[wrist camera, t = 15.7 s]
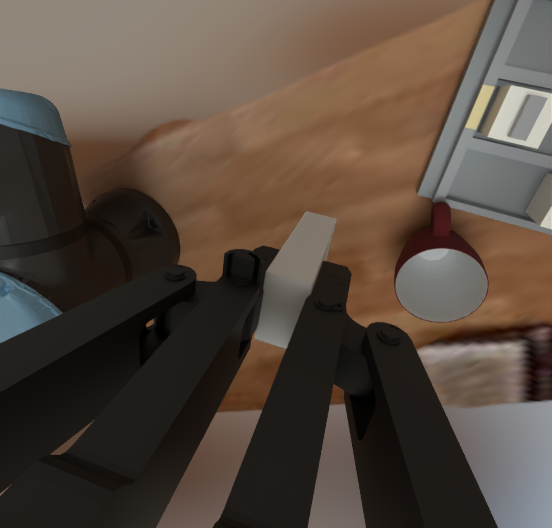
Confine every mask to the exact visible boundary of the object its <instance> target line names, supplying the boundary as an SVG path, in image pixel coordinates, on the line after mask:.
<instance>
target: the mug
mask: <svg viewBox="0 0 552 528" xmlns="http://www.w3.org/2000/svg"><path fill="white" fill-rule="evenodd" d="M450 225H451V212H450V206H449V204H448V203H446V202H437V203H435V204H433V206H432V211H431V227H428V228H425V229H423V230H421V231H419V232H417V233H415V234H414V235H413V236H412V237H411V238H410V239H409V240H408V241H407V243H406V244H405V246H404V248H403V250H402V252H401V254H400V256H399V259H398V261H397V264H396V268H395V274H394V287H395V293H396V296H397V299H398V301H399V302H400V304H401V305H402V306H403V307H404V308H405V309H406V310H407V311H408V312H409V313H411V314H412V315H414V316H415V317H418V318H420V319H422V320H426V321H430V322H439V323H442V322H452V321H456V320H459V319H462V318H464V317H466V316H468V315H470V314H472V313H473V312H474V311H475V310H477V309H478V308H479V307H480V305H481V304H482V303H483V301H484V300H485V298H486V295H487V292H488V277H487V273H486V270H485V268H484V265H483V263H482V260H481V259H480V257H479V255H478V254H477V253H476V251H475V250H474V249H473V248H472V247H471V246H470V245H469V244H468V243H467V242H466V241H465V240H464V239H463V238H462V237H460V236H459V235H458V234H457V233H455V232H453V231H452V230H450Z"/></svg>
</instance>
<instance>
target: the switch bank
mask: <svg viewBox="0 0 552 528" xmlns="http://www.w3.org/2000/svg"><path fill="white" fill-rule="evenodd" d="M504 85H513V86H518V87H523V88H528V89H533V90H537V91H542V92H547V93H552V0H492V1H491V4H490V7H489V9H488V12H487V14H486V17H485V19H484V22H483V24H482V27H481V29H480V32H479V34H478V37H477V39H476V42H475V44H474V47H473V49H472V52H471V54H470V57H469V60H468V62H467V65H466V67H465V70H464V72H463V75H462V77H461V80H460V82H459V85H458V87H457V90H456V92H455V95H454V97H453V100H452V102H451V105H450V107H449V110H448V112H447V115H446V118H445V120H444V123H443V125H442V128H441V130H440V133H439V135H438V138H437V140H436V143H435V145H434V148H433V150H432V153H431V155H430V158H429V160H428V163H427V165H426V168H425V170H424V173H423V176H422V178H421V181H420V183H419V186H418V188H417V195H420V196H424V197H427V198H431V199H432V202H433V203H437V202H446V203H448V204H449V206H450V207H451V208H455V209H459V210H462V211H466V212H470V213H473V214H477V215H480V216H484V217H488V218H491V219H495V220H499V221H502V222H506V223H510V224H513V225H517V226H520V227H524V228H528V229H531V230H535V231H539V232H542V233H546V234H550V235H552V229H549V228H545V227H541V226H539V225H538V224H537V223H536V222H535V221H534V220H533V219H532V218H531V217H530V216H529V215H528V214H527V213H526V212H525V210H526V209H527V207H528V205H529V203H530V201H531V200H532V198H533V196H534V194H535V193H536V191H537V189H538V187H539V185H540V184H541V182H542V180H543V178H544V177H545V175H546V173H547V172H548V173H552V123H551V125H550V127H549V129H548V130H547V132H546V134H545V136H544V138H543V140H542V142H541V144H540V145H539V147H538V149H536V148H532V147H528V146H524V145H520V144H515V143H511V142H507V141H503V140H498V139H494V138H490V137H487V136H485V135H483V134H481V133H479V132H478V130H479V128H480V125H481V123H482V121H483V119H484V116H485V114H486V112H487V110H488V107H489V105H490V103H491V101H492V98H493V96H494V94H495V92H496V90H497V87H498V86H504Z"/></svg>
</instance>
